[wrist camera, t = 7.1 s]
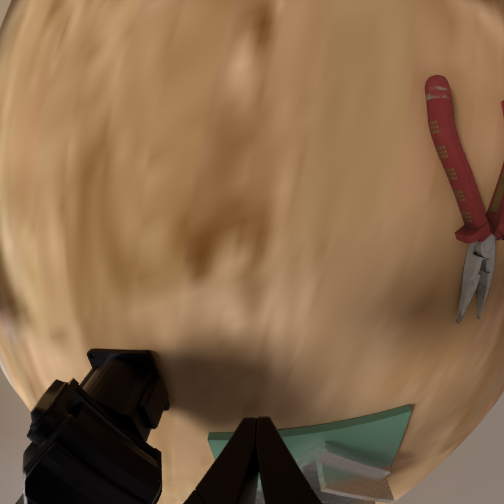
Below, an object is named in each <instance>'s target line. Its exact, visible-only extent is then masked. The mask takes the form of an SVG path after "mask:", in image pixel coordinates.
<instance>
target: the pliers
mask: <svg viewBox="0 0 504 504" xmlns="http://www.w3.org/2000/svg"><path fill="white" fill-rule="evenodd" d="M425 93H426V103H427V113H428V124H429V129H430V133H431V136H432V139H433V142H434V145H435V148H436V150H437V153H438V156H439V158H440V160H441V162H442V165H443V167H444V169H445V172H446V174H447V177H448V179H449V182H450V184H451V187H452V189H453V192H454V195H455V197H456V200H457V203H458V206H459V209H460V211H461V214H462V217H463V221H464V224H465V225H464V226H463V227H461V228H460V229H459V230H458V231H456V232H455V235H456V238H457V240H459V241H462V242H465V243H469V247H468V252H467V256H466V260H465V265H464V271H463V280H462V288H461V296H460V302H459V309H458V315H457V320H456V322H457V323H458V324H459V322H460V321H461V319H462V317H463V315H464V313H465V311H466V309H467V307H468V305H469V303H470V301H471V299H472V297H473V295H474V293H475V291H476V288H477V318H478V319H479V320H480V318H481V315H482V312H483V308H484V305H485V302H486V299H487V295H488V292H489V288H490V285H491V281H492V277H493V273H494V266H495V239H496V240H500V239H502V240H504V163H503V166H502V170H501V173H500V176H499V179H498V183H497V186H496V189H495V192H494V194H493V197H492V200H491V203H490V206H489V208H488V211H487V213H486V214H485V210H484V207H483V204H482V200H481V197H480V194H479V191H478V188H477V185H476V182H475V179H474V177H473V174H472V171H471V169H470V166H469V163H468V161H467V158H466V156H465V154H464V151H463V149H462V146H461V143H460V140H459V137H458V134H457V131H456V127H455V123H454V118H453V109H452V100H451V93H450V86H449V83H448V81H447V79H446V78H445V77H444V76H441V75H434V76H431V77H430V78H428V80H427V81H426V84H425ZM501 104H502V109H503V116H504V100H503V101H502V102H501Z"/></svg>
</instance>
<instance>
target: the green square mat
mask: <svg viewBox="0 0 504 504" xmlns="http://www.w3.org/2000/svg"><path fill="white" fill-rule="evenodd" d="M411 412H412V410H411V408H410V407H409V405H405V406H402V407H398V408H395V409H391V410H387V411H384V412H380V413H376V414H372V415H367V416H363V417H358V418H354V419H349V420H344V421H338V422H333V423H327V424H321V425H314V426H307V427H299V428H291V429H281V430H278V432H279V434H280V436H281V437H282V439H283V441H284V443H285V444H286V446H287V448H288V449H289V451H290V453H291V454H292V456H293V458H294V460H295V459H297V458H298V457H300V456H302V455H303V454H305V453H306V452H308V451H309V450H311V449H313V448H314V447H316V446H317V445H319V444H320V443H321V442H323V441H324V440H325V441H327V442H330V443H332V444H335V445H337V446H340V447H342V448H345V449H347V450H350V451H353V452H355V453H358V454H361V455H364V456H367V457H369V458H372V459H375V460H378V461H381V462H385V463H388V464H389V466H390V467H391V464H392V462H393V460H394V457H395V455H396V453H397V450H398V448H399V445H400V443H401V440H402V437H403V435H404V432H405V429H406V427H407V424H408V421H409V418H410V415H411ZM233 433H234V432H230V433H209V435H208V442H209V445H210V448H211V450H212V453H213V456H214V458H215V460H216V459H217V457H218V456H219V454H220V453H221V451H222V450H223V448H224V447H225V445H226V444H227V442H228V441H229V439H230V438H231V436H232V435H233ZM258 480H260V474H259V479H258Z"/></svg>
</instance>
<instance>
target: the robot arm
mask: <svg viewBox="0 0 504 504" xmlns="http://www.w3.org/2000/svg"><path fill="white" fill-rule="evenodd" d="M87 356H88V359H89V361H90V363H91V366H92V369H91V371H90V372H89V373H88V374H87V376H86V377H85V378H84V380H83V381H82V382H81V384H80V385H79V383H78V382H77V381H76V380H75V379H74V378H73V379H72V380H70V381H69V382H68V383H67V382H62V381H60V380H57V379H56V380H55V381H54V382H53V383H52V385H51V386H50V387H49V388H48V389H47V390H46V392H45V393H44V394H43V395H42V397H41V398H40V399H39V401H38V402H37V404H36V405H35V407H34V408H33V410H32V411H31V418H32V423H31V425H30V430H29V432H28V434H27V437H28V438H29V439H30V440H31V441H32V442H31V444H30V445H29V446H28V447H27V449H26V450H25V452H24V455H23V494H22V496H21V497H20V499H19V500H18V501H17V502H16V504H156V503H157V502H158V500H159V498H160V496H161V492H162V461H161V451H159V450H158V449H156V448H153V447H152V446H150V445H149V444H148V443H146V442H147V439H148V436H149V434H150V431H151V429H156V428H157V427H158V424H159V421H160V418H161V416H162V413H163V411H167V410H169V407H170V403H169V401H168V394H167V391H166V388H165V385H164V383H163V380H162V377H161V375H160V374H159V373H158V370H157V367H156V364H155V361H154V358H153V356H152V354H151V353H150V352H148V351H124V350H98V349H90V350H89V351H88V352H87ZM145 356H147V357H148V358H146V357H145ZM259 474H260V481H261V487H262V493H263V499H264V504H323V503H322V502H321V501H320V499H319V498H318V496H317V495H316V493H315V492H314V490H313V489H311V486H310V484H309V482H308V481H307V479H306V478H305V476H304V474H303V473H302V471H301V469H300V468H299V466H298V464H297V463H296V461H295V460H294V458H293V456H292V454H291V453H290V451H289V449H288V448H287V446H286V444H285V443H284V441H283V439H282V437H281V436H280V434H279V432H278V430H277V429H276V427H275V425H274V423H273V422H272V420H271V418H270V417H268V416H266V417H258V418H256V417H245V418H243V419H242V421H241V423H240V424H239V426H238V427H237V429H236V430H235V432H234V433H233V435H232V436H231V438H230V439H229V441H228V442H227V444H226V445H225V447H224V448H223V450H222V451H221V453H220V454H219V456H218V457H217V459H216V460H215V462H214V463H213V464H212V466H211V467H210V469H209V470H208V471H207V473H206V474H205V476H204V477H203V478H202V480H201V481H200V483H199V484H198V485H197V487H196V488H195V489H196V490H194V491H193V492H192V493H191V495H190V496H189V497H188V498H187V500H186V501H185V502H184V503H183V504H255V500H256V494H257V487H258V479H259Z"/></svg>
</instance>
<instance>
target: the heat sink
mask: <svg viewBox="0 0 504 504" xmlns="http://www.w3.org/2000/svg"><path fill="white" fill-rule="evenodd" d="M295 461H296V463H297V464H298V466H299V468H300V469H301V471H302V473H303V474H304V476H305V478H306V479H307V481H308V482H309V484H310V486H311V489H313V490H314V492H315V493H316V495H317V496H318V498H319V499H320V501H321V502H322V503H323V504H375V501H377V502H385V503H391V502H393V501H394V498H393V495H392V492H391V489H390V487H389V484H388V481H387V478H386V476H387V475H389V474H390V473H392V472H391V469H390V466H389V464H388V463H385V462H381V461H378V460H375V459H372V458H369V457H367V456H364V455H361V454H358V453H355V452H353V451H350V450H347V449H345V448H342V447H340V446H337V445H335V444H332V443H330V442H327V441H325V440H324V441H323V442H321V443H320V444H319V445H317V446H316V447H314V448H313V449H311V450H309V451H308V452H306V453H305V454H303V455H302V456H300V457H298V458H297V459H295ZM255 504H264V499H263V493H262V487H261V481H260V480H258V487H257V494H256V500H255Z"/></svg>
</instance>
